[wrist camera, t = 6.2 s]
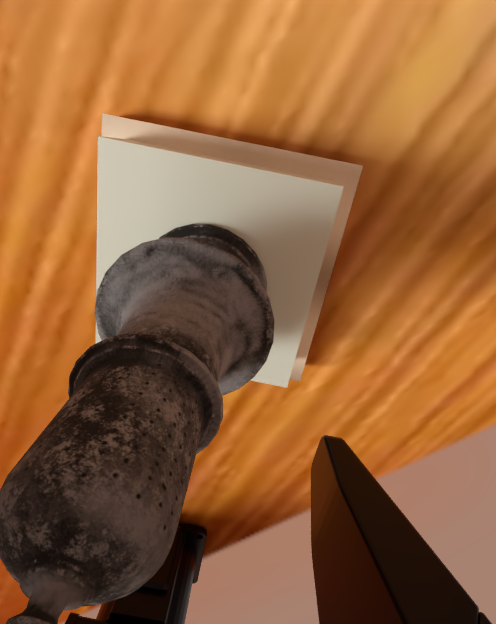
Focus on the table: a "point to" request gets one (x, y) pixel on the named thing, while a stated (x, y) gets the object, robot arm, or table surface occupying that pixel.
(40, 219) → the table surface
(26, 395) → the table surface
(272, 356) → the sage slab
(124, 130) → the birch slab
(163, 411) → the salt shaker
